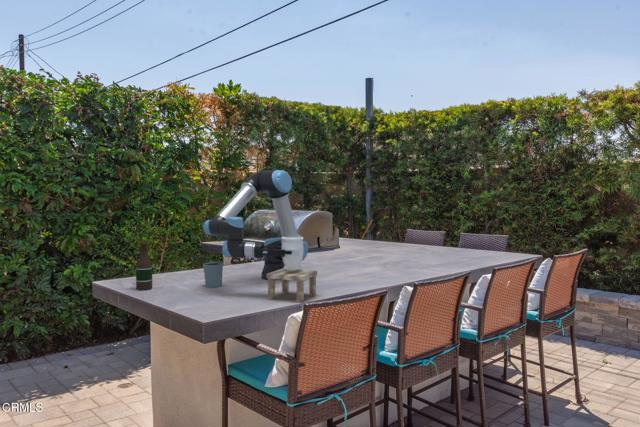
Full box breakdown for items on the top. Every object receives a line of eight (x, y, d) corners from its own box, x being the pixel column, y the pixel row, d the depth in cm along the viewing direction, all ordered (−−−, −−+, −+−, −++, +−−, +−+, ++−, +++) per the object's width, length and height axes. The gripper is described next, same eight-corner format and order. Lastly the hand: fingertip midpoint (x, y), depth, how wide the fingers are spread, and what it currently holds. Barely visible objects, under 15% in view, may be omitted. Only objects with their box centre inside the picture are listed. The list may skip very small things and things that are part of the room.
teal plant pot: (226, 285, 259) (226, 262, 258) (215, 288, 250) (215, 265, 249) (211, 283, 263) (211, 261, 262) (199, 287, 254) (199, 264, 253)
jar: (281, 267, 234) (281, 236, 234) (302, 266, 235) (302, 236, 234) (281, 270, 224) (281, 238, 223) (304, 270, 225) (304, 238, 224)
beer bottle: (155, 288, 251) (154, 241, 250) (145, 291, 243) (144, 243, 242) (143, 287, 253) (142, 241, 252) (132, 290, 246) (132, 242, 245)
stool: (266, 299, 225) (266, 273, 224) (283, 292, 242) (283, 268, 241) (302, 303, 218) (302, 276, 218) (317, 295, 235) (317, 270, 234)
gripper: (261, 254, 243) (304, 255, 240) (248, 261, 220) (296, 262, 217) (261, 239, 242) (304, 240, 240) (248, 244, 220) (296, 245, 217)
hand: (301, 251), depth 228 cm, fingers closed on jar, 10 cm apart
